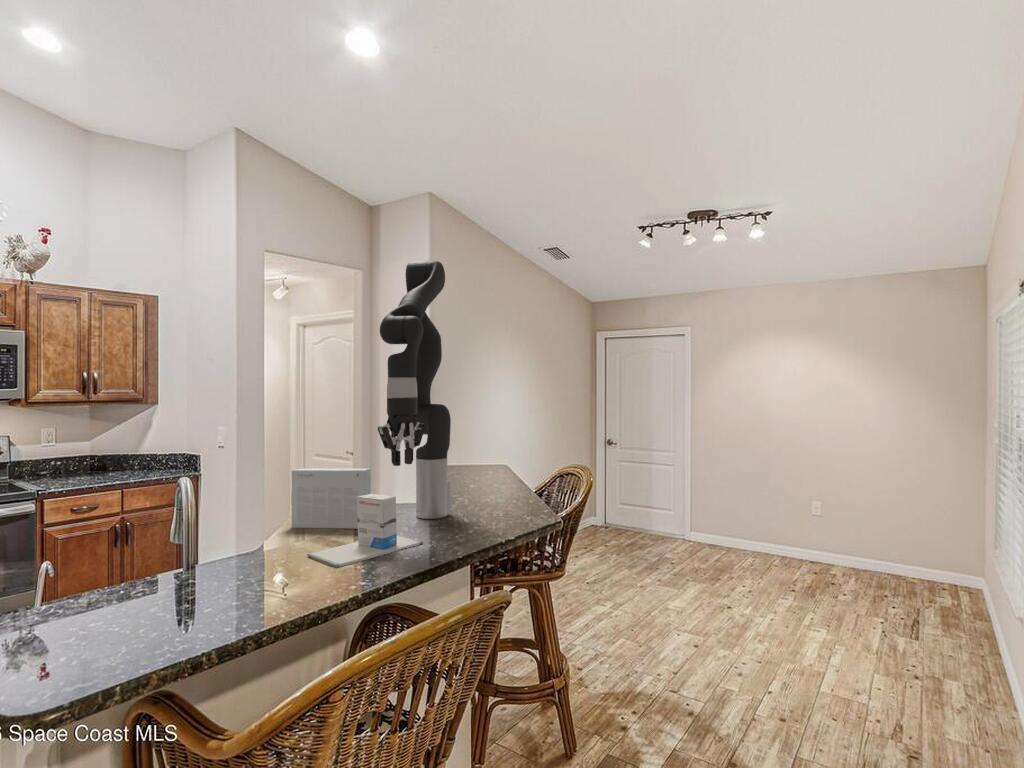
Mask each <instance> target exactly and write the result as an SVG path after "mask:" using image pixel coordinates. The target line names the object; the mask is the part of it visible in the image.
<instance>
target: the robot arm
mask: <svg viewBox="0 0 1024 768" xmlns="http://www.w3.org/2000/svg"><path fill="white" fill-rule="evenodd" d="M405 267H406V268H405V286H406V294H405V295H404V296H402V298H401V300H400V302H399V304H398V305H397V307H395V308H393V309H392V310H391V311H390V312H389V313H387V314H386V315H385V317H383V319H382V320H381V322H380V325H379V326H380V327H379V335H380V338H381V339H382V341H383V343H386V344H388V345H406V347H405V349H404V350H403V351H400V352H397V353H393V354H390V355H389V356H388V358H387V383H386V415H387V420H386V423H385V424H384V425H380V426H377V432H378V435H379V437H380V440H381V442H382V445H383V447H384V449H388V450H390V453H391V458H390V459H391V464H392V465H393V466H394V467H399V466H401V458H402V457H401V450H400V449H401V444H402V442H403V443H404V448H405V449H404V464H405V465H412V464H413V462H414V449H415V448H416V447H418V448H416V450H415V469H416V470H415V495H416V496H415V497H416V498H415V499H416V500H415V502H416V503H415V504H416V505H415V506H416V507H415V515H416V516H415V517H416V518H419V519H423V520H424V519H425V520H435V519H436V520H437V519H443V518H446V517H447V516H449V515H450V514H451V483H450V482H449V481H448V451H449V449H450V444H451V424H452V423H451V413H450V411H449V409H448V408H447V406H446V405H444V404H442V403H440V404H439V403H432V402H431V389H432V384H433V382H434V379H435V377H436V375H437V373H438V371H439V368H440V366H441V364H442V363H441V362H442V357H443V356H442V355H443V352H442V351H443V350H442V349H443V348H442V338H441V336H442V335H440V333H439V330H438V328H437V327H436V326H435V324H434V323H433V321H432V320H431V318H430V317H429V316H428V314H427V312H426V311H427V308H429V306H430V305H431V303H432V302H433V301H434V300H435V299H437V296H438V295H439V294H440V293H441V292H442V291H443V289H444V287H445V284H446V272H445V268H444V267H445V266H443V264H442V262H440V261H438V260H422V261H420V260H419V261H410V262H408V263H407V264H406V266H405ZM424 435H427V439H426V442H425V444H423V445H422V446H420V445H421V442H422V440H423V436H424ZM419 446H420V447H419Z"/></svg>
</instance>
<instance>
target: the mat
mask: <svg viewBox="0 0 1024 768" xmlns="http://www.w3.org/2000/svg"><path fill="white" fill-rule="evenodd" d="M420 544H421V545H424V541H423V540H419V539H416V538H413V537H408V536H404V535H401V534H398V533H397V544H396V545H393V546H391V547H388V548H386V549H379V548H374V547H368V546H363V545H359V544H358V541H356V542H351V543H347V544H343V545H339V546H335V547H331V548H327V549H323V550H319V551H314V552H310V553H306V557H307V556H308V557H307V558H309V557H311V558H310V559H312V558H314V559H316V560H315V561H317V560H319V561H321V562H320V563H322V562H323V563H322V564H325V563H326V564H325V565H327V564H328V566H331V567H334V568H335V569H337V568H341V567H344V566H347V565H352V564H355V563H359V562H363V561H365V560H370V559H373V558H377V557H381V556H384V554H385V555H387V554H391V552H392V553H395V552H394V551H396V552H399V551H402V550H401V549H403V550H406V549H410V548H413V546H414V547H417V546H420ZM409 547H410V548H409ZM405 548H406V549H405ZM398 550H399V551H398ZM314 559H313V560H314ZM319 561H318V562H319Z"/></svg>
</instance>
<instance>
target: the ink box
mask: <svg viewBox="0 0 1024 768" xmlns="http://www.w3.org/2000/svg"><path fill="white" fill-rule="evenodd" d="M396 499H397V497H396V496H394V495H393V496H392V495H383V494H376V493H371V494H368V495H363V496H359V497H357V515H358V529H357V538H358V539H357V542H358V544H359V545H363V546H368V547H374V548H379V549H386V548H388V547H391V546H393V545H396V544H397V534H398V533H397V532H398V531H397V500H396Z"/></svg>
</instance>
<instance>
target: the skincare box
mask: <svg viewBox="0 0 1024 768" xmlns="http://www.w3.org/2000/svg"><path fill="white" fill-rule="evenodd" d="M290 473H291V497H290V498H291V500H290V501H291V502H290V503H291V524H290V525H291V529H292V528H293V529H348V530H350V529H351V530H352V529H353V530H354V529H355V530H358V515H357V497H359V496H363V495H368V494H372V493H371V491H372V489H371V479H372V478H371V477H372V476H371V468H352V467H351V468H349V467H345V468H342V467H338V468H330V467H329V468H327V467H326V468H320V467H317V468H314V467H313V468H310V467H309V468H305V467H304V468H296V469H291V472H290Z"/></svg>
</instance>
